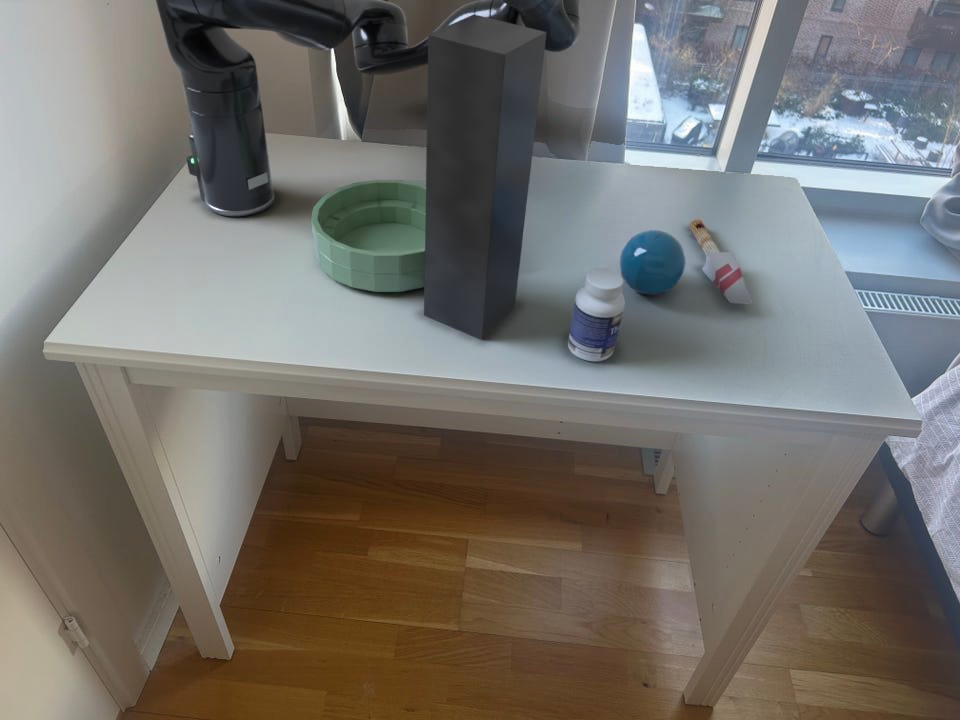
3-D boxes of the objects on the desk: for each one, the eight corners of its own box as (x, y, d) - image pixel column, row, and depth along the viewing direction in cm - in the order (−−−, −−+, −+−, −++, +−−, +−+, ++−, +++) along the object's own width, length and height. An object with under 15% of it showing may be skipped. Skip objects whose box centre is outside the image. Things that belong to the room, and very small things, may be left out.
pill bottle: (612, 367, 83) (629, 296, 76) (564, 358, 83) (577, 287, 77) (615, 337, 87) (631, 268, 80) (569, 329, 87) (582, 260, 81)
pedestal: (423, 315, 88) (428, 34, 67) (459, 283, 93) (473, 14, 72) (481, 340, 85) (505, 54, 64) (515, 305, 90) (546, 32, 69)
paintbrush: (729, 292, 90) (685, 215, 105) (723, 311, 91) (681, 232, 107) (760, 293, 90) (712, 216, 106) (753, 312, 92) (707, 233, 107)
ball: (687, 288, 96) (703, 234, 90) (658, 315, 91) (674, 260, 85) (633, 264, 99) (645, 211, 94) (602, 289, 94) (614, 235, 89)
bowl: (285, 263, 94) (279, 222, 90) (373, 205, 106) (372, 166, 103) (405, 315, 87) (405, 273, 84) (485, 247, 100) (488, 207, 96)
